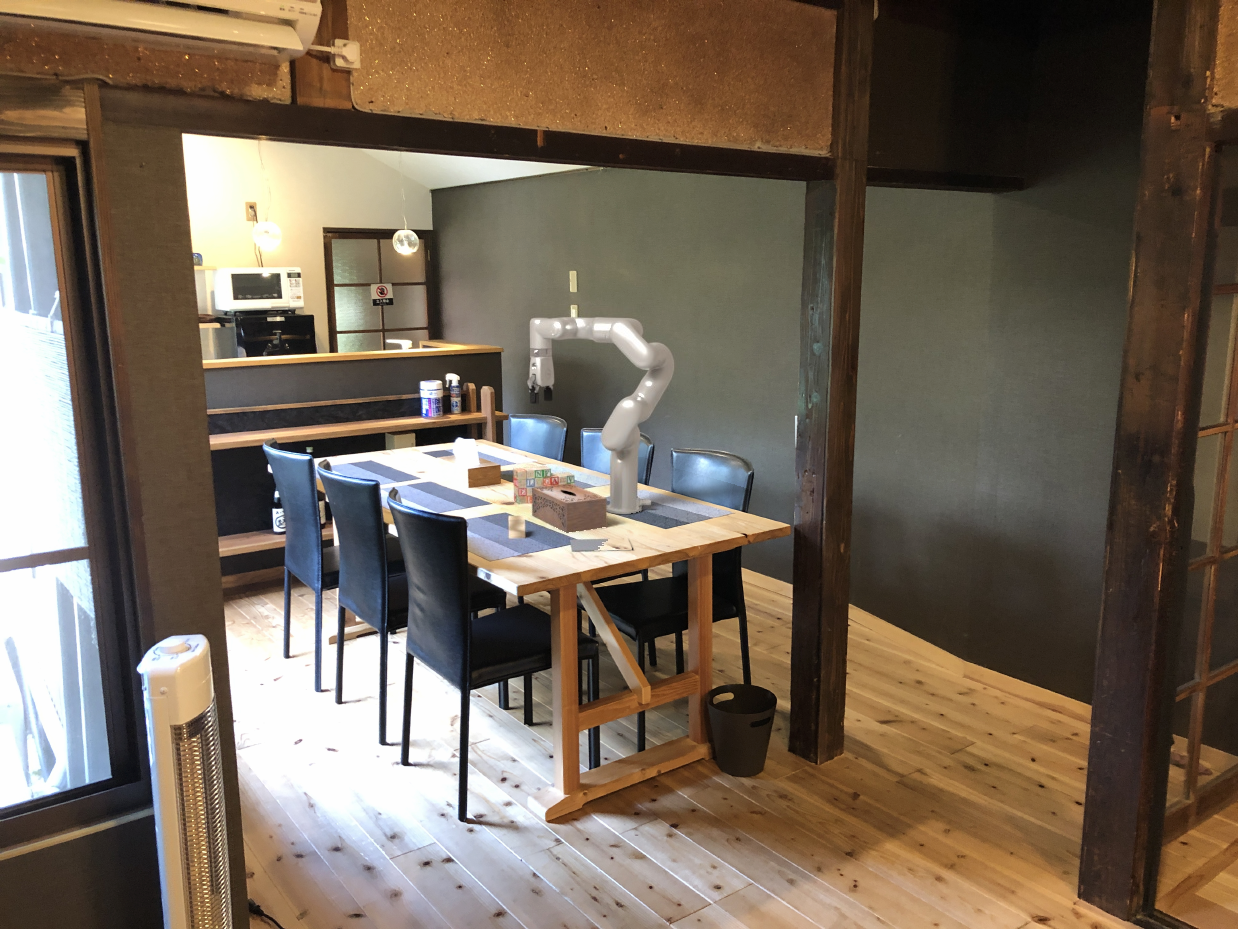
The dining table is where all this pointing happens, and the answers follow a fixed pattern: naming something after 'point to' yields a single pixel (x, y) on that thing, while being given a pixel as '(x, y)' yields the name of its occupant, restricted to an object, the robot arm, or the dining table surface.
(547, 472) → the stack of blocks
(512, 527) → the maple block
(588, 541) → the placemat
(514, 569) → the dining table surface
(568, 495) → the tissue box cover
